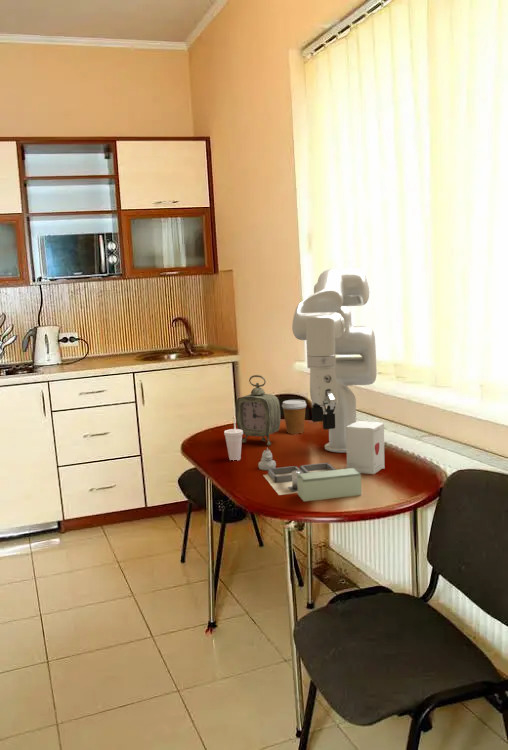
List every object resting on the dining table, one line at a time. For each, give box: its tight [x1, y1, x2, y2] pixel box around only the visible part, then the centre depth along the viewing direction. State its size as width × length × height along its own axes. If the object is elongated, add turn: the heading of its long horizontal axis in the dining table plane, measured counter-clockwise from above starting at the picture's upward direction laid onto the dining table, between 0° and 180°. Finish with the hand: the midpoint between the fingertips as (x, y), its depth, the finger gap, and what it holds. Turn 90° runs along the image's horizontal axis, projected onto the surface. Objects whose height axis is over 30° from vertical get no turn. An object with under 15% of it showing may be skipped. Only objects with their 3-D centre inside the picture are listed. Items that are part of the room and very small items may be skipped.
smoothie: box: [223, 417, 244, 462], centre depth 235 cm, size 6×6×14 cm
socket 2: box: [299, 462, 337, 473], centre depth 210 cm, size 9×9×2 cm
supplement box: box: [346, 420, 385, 475], centre depth 212 cm, size 9×9×15 cm
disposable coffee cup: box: [281, 399, 308, 435], centre depth 270 cm, size 10×10×12 cm
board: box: [262, 469, 328, 496], centre depth 204 cm, size 22×20×1 cm
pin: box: [292, 470, 300, 490], centre depth 196 cm, size 2×2×5 cm
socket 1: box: [267, 465, 303, 483], centre depth 208 cm, size 9×9×2 cm
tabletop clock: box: [235, 374, 281, 447], centre depth 255 cm, size 14×9×25 cm, turn 56°
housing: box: [297, 468, 362, 502], centre depth 190 cm, size 16×6×7 cm, turn 102°
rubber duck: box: [258, 447, 277, 471], centre depth 219 cm, size 5×7×8 cm
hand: (323, 424), depth 189 cm, fingers open, 9 cm apart
